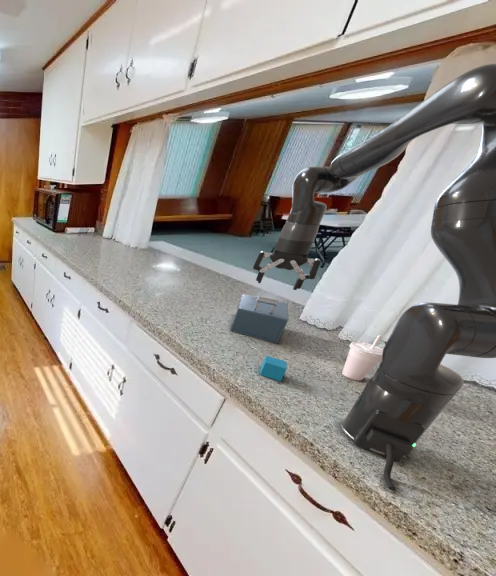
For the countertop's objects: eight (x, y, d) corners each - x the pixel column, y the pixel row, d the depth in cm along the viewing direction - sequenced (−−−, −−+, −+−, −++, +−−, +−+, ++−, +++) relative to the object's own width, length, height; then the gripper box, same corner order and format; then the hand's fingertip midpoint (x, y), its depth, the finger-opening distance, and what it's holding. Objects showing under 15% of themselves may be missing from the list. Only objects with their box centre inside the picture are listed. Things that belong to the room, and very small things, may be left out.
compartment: (277, 343, 99) (287, 321, 95) (230, 330, 107) (238, 309, 103) (277, 326, 108) (287, 305, 105) (234, 315, 116) (242, 295, 113)
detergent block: (280, 381, 82) (286, 369, 81) (259, 374, 85) (265, 362, 83) (280, 373, 85) (286, 361, 83) (260, 367, 88) (266, 355, 86)
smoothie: (360, 385, 80) (387, 343, 74) (329, 371, 86) (352, 330, 80) (375, 381, 82) (402, 338, 76) (344, 366, 87) (367, 326, 82)
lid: (287, 321, 95) (294, 305, 92) (238, 310, 103) (243, 295, 100) (287, 305, 105) (293, 290, 103) (242, 295, 113) (247, 282, 111)
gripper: (264, 236, 91) (247, 283, 98) (332, 243, 82) (308, 295, 89) (266, 231, 96) (249, 277, 103) (330, 238, 87) (307, 288, 94)
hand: (276, 285), depth 96 cm, fingers open, 8 cm apart
